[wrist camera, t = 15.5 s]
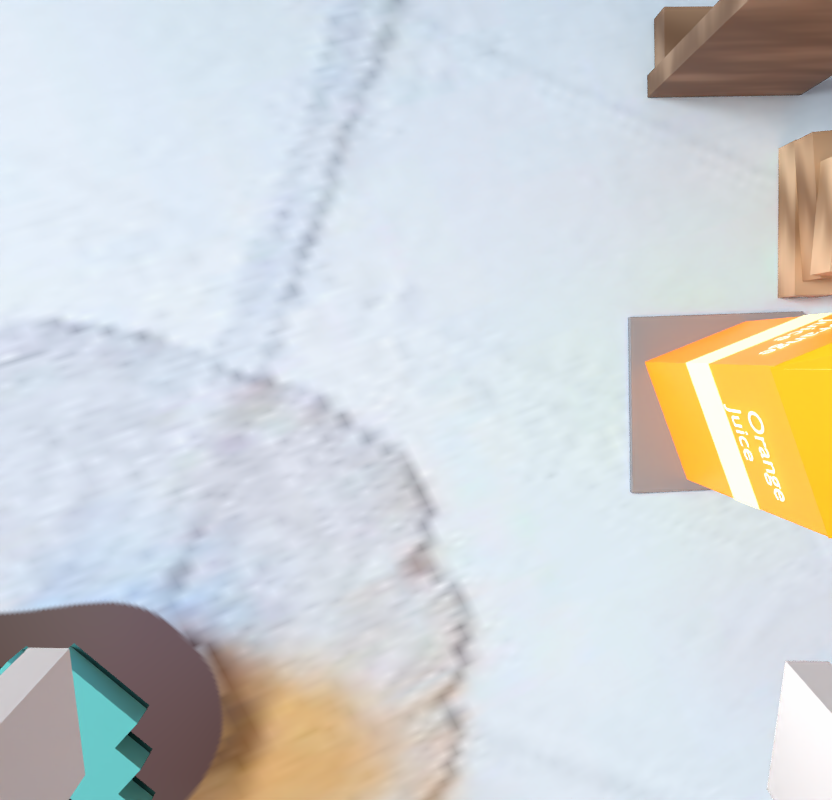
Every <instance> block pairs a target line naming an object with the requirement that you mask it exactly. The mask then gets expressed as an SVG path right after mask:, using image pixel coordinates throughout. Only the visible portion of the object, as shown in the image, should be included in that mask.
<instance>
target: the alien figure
mask: <svg viewBox="0 0 832 800" xmlns="http://www.w3.org/2000/svg"><path fill="white" fill-rule="evenodd" d="M27 649H28V647H27V646H26V647H25V648H23V649H22V650H21V651H20V652H18V653H17V654H16V655H15V656H14V657H13V658H11V659H10V660H9V661H8V662H7V663H6V664H5V665H4V666H3V667H0V675H1V674H2V673H3V672H4V671H5V670H6V669H7V668H8V667H9V666H10V665H11V664H12V663H13V662H14V661H15V660H17V659H18V658H19V657H20V656H21V655H22V654H23V653H24V652H25V651H26V650H27ZM69 650H70V658H71V666H72V674H73V682H74V690H75V698H76V706H77V713H78V721H79V729H80V737H81V745H82V753H83V761H84V769H85V776H84V777H83V779H82V780H81V782H80V783H79V785H78V786H77V788H76V789H75V791H74V793H73V794H72V796H71V797H70V799H69V800H152V798H153V796H154V794H155V792H154V791H153V790H152V789H151V788H149V787H148V786H147V785H146V784H145V783H144V782H142V781H141V780H140V779H138V778H137V777H136V776H135V775H136V774H137V773H138V772H139V771H140V770H141V768H142V766H143V765H144V763H145V761H146V759H147V758H148V756H149V754H150V753H151V751H152V748H151V747H150V746H148V745H147V744H146V743H144V742H143V741H142V740H141V739H140V738H139V737H137V736H136V735H135V734H133V733H132V732H131V730H132V729H133V728H134V727H135V726H136V725H137V723H138V722H139V720H140V719H141V717H142V716H143V714H144V713H145V711H146V710H147V708H148V707H149V704H147V703H146V702H145V701H144V700H143V699H141V698H140V697H139V696H138V695H137V694H135V693H134V692H133V691H132V690H130V689H129V688H128V687H127V686H126V685H124V684H123V683H122V682H121V681H120V680H118V679H117V678H116V677H115V676H114V675H112V674H111V673H110V672H109V671H107V670H106V669H105V668H104V667H102V666H101V665H100V664H99V663H98V662H97V661H95V660H94V659H93V658H92V657H90V656H89V655H88V654H87V653H86V652H84V651H83V650H82V649H81V648H80V647H78V646H77V645H76V644H75V643H74V644H73V645H72V646H70V647H69Z"/></svg>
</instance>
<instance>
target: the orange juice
mask: <svg viewBox="0 0 832 800" xmlns="http://www.w3.org/2000/svg"><path fill="white" fill-rule="evenodd" d="M645 364H646V367H647V369H648V372H649V375H650V378H651V381H652V383H653V386H654V389H655V392H656V394H657V397H658V400H659V403H660V405H661V408H662V411H663V414H664V416H665V419H666V422H667V425H668V427H669V430H670V433H671V436H672V438H673V441H674V444H675V447H676V450H677V452H678V455H679V458H680V461H681V463H682V466H683V469H684V472H685V474H686V477H687V479H688V480H690V481H693V482H695V483H698V484H700V485H703V486H705V487H707V488H710V489H712V490H715V491H717V492H720V493H722V494H725V495H727V496H730V497H732V498H734V500H737V501H739V502H742V503H744V504H747V505H749V506H752V507H754V508H756V509H762V510H764V511H766V512H769V513H771V514H774V515H776V516H779V517H781V518H784V519H786V520H789V521H791V522H794V523H796V524H798V525H801V526H803V527H806V528H808V529H811V530H813V531H816V532H818V533H821V534H823V535H826V536H828V538H832V313H824V314H813V315H803V316H801V317H790V318H779V319H768V320H757V321H746V322H743V323H741V324H738V325H736V326H733V327H731V328H728V329H726V330H723V331H721V332H718V333H716V334H713V335H711V336H708V337H706V338H703V339H701V340H698V341H696V342H693V343H691V344H689V345H686V346H684V347H681V348H679V349H676V350H674V351H671V352H669V353H666V354H664V355H661V356H659V357H656V358H654V359H651V360H649V361H646V362H645Z"/></svg>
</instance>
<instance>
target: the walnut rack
mask: <svg viewBox="0 0 832 800" xmlns="http://www.w3.org/2000/svg"><path fill="white" fill-rule="evenodd" d="M654 39H655V68H654V69H653V70H652V71H651V72H650V73H649V75H648V76H647V80H648V97H704V96H766V95H801V94H803V93H805V92H806V91H808V90H809V89H811V88H813V87H814V86H816V85H817V84H819V83H821V82H822V81H824V80H826V79H827V78H829V77H830V76H832V0H719V1H718V2H717V3H716V4H715V5H714V7H664V8H663V9H662V10H661V12H660V13H659V14H658V15H657V16H656V18H655V19H654ZM829 295H832V130H830V131H820V132H812V133H810V134H808V135H806V136H804V137H802V138H800V139H798V140H795V141H793V142H791V143H789V144H787V145H785V146H783V147H781V148H779V217H778V298H793V297H821V296H829Z"/></svg>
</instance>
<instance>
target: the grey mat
mask: <svg viewBox="0 0 832 800" xmlns="http://www.w3.org/2000/svg"><path fill="white" fill-rule="evenodd" d="M801 316H803V312H775V313H746V314H716V315H687V316H657V317H630V318H628V337H629V417H630V492H631V493H650V492H671V491H692V490H712V489H710V488H707V487H705V486H703V485H700V484H698V483H695V482H693V481H690V480H688V479H687V477H686V474H685V472H684V469H683V466H682V463H681V461H680V458H679V455H678V452H677V450H676V447H675V444H674V441H673V438H672V436H671V433H670V430H669V427H668V425H667V422H666V419H665V416H664V414H663V411H662V408H661V405H660V403H659V400H658V397H657V394H656V392H655V389H654V386H653V383H652V381H651V378H650V375H649V372H648V369H647V367H646V364H645V362H646V361H649V360H651V359H654V358H656V357H659V356H661V355H664V354H666V353H669V352H671V351H674V350H676V349H679V348H681V347H684V346H686V345H689V344H691V343H693V342H696V341H698V340H701V339H703V338H706V337H708V336H711V335H713V334H716V333H718V332H721V331H723V330H726V329H728V328H731V327H733V326H736V325H738V324H741V323H743V322H746V321H757V320H768V319H779V318H790V317H801Z"/></svg>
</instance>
